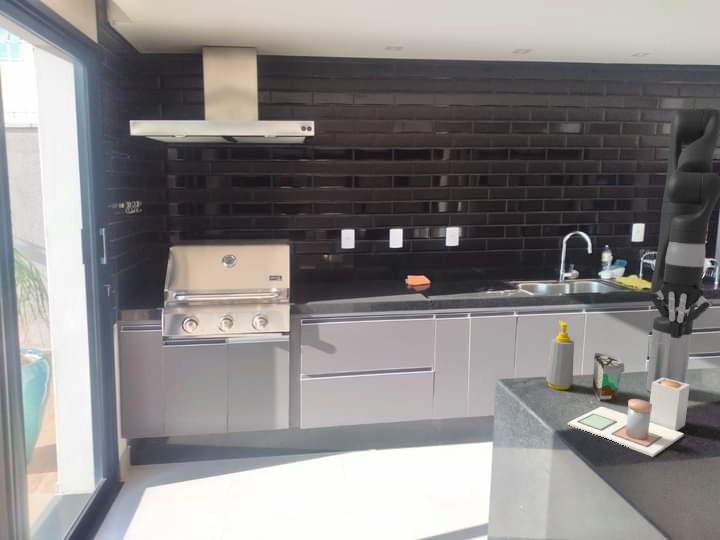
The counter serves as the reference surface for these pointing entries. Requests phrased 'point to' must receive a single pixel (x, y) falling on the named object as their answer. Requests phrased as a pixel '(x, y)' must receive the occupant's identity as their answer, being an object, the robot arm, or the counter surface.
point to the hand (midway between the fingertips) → (675, 337)
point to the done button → (671, 384)
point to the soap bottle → (561, 361)
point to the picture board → (615, 429)
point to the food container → (606, 376)
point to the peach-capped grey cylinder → (638, 419)
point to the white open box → (669, 404)
